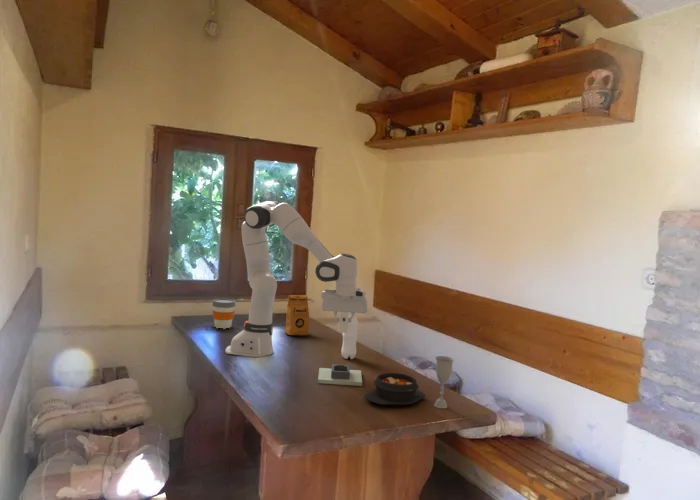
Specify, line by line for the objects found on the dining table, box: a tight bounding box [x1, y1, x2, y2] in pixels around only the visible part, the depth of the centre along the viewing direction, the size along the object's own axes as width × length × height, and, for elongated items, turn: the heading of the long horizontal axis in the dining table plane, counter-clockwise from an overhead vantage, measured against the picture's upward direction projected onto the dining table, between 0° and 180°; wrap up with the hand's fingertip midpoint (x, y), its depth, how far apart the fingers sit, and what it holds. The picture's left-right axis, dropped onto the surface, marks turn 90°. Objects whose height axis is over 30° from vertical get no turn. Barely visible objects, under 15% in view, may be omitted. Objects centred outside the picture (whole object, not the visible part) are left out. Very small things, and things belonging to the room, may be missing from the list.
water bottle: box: [340, 312, 359, 360], centre depth 258 cm, size 7×7×25 cm
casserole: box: [363, 372, 426, 406], centre depth 206 cm, size 25×19×8 cm
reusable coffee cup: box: [212, 298, 236, 330], centre depth 303 cm, size 13×13×15 cm
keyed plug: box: [337, 311, 349, 333], centre depth 238 cm, size 4×9×9 cm, turn 1°
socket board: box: [317, 363, 363, 387], centre depth 227 cm, size 18×16×4 cm
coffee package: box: [284, 294, 310, 336], centre depth 298 cm, size 10×12×22 cm
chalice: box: [433, 355, 455, 409], centre depth 203 cm, size 7×7×18 cm
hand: (343, 321), depth 239 cm, fingers closed on keyed plug, 4 cm apart
